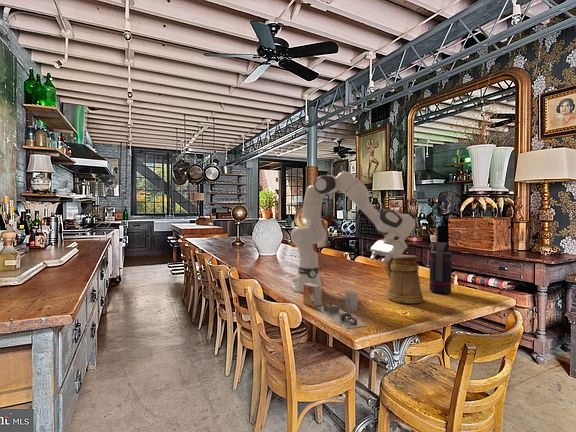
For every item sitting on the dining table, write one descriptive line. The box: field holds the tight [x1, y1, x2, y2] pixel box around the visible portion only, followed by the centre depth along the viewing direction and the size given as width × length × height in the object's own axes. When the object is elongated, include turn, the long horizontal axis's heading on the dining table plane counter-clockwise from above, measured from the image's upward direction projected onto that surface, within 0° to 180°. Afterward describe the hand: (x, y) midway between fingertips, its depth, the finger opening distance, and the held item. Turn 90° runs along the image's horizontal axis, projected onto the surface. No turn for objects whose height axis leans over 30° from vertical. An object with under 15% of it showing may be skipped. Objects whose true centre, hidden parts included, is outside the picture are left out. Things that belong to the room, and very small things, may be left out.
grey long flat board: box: [315, 303, 368, 330], centre depth 154 cm, size 30×10×4 cm, turn 21°
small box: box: [302, 283, 323, 308], centre depth 172 cm, size 8×6×10 cm
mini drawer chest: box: [344, 290, 358, 313], centre depth 163 cm, size 5×4×9 cm
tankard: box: [384, 254, 424, 304], centre depth 183 cm, size 18×24×25 cm
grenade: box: [428, 241, 453, 295], centre depth 197 cm, size 14×12×30 cm
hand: (377, 260), depth 167 cm, fingers open, 8 cm apart
